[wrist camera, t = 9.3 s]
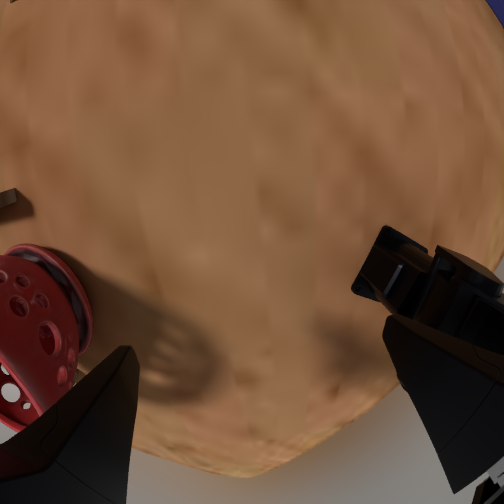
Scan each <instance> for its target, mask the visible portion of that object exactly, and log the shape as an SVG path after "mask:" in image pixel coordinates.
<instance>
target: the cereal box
mask: <svg viewBox="0 0 504 504" xmlns="http://www.w3.org/2000/svg"><path fill="white" fill-rule="evenodd" d="M485 1H486V2H487V3H488V5H489V6H490V8H491V9H492V11H493V12H494V14H495V15H496V17H497V18H498V20H499V21H500V23H501V24H502V26H503V28H504V0H485Z"/></svg>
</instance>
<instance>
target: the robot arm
mask: <svg viewBox="0 0 504 504" xmlns="http://www.w3.org/2000/svg"><path fill="white" fill-rule="evenodd" d="M386 230H388V232H387V233H386ZM435 252H436V253H435V256H434V258H433V257H431V256H429V255H428V250H427V249H426V248H425V247H423V246H421V245H420V244H418V243H417V242H415V241H413V240H412V239H410V238H408V237H407V236H405V235H403V234H402V233H400V232H398V231H396V230H395V229H393V228H391V227H389V226H387V225H385V226H383V227H382V229H381V231H380V233H379V235H378V237H377V239H376V241H375V243H374V245H373V247H372V249H371V251H370V253H369V255H368V257H367V258H366V260H365V262H364V264H363V266H362V268H361V270H360V272H359V274H358V275H357V277H356V279H355V281H354V283H353V284H352V287H351V290H352V292H353V293H354V294H356V295H359V296H362V297H365V298H369V299H372V300H375V301H378V302H381V303H382V304H383V305H384V306H385V307H386V308H387V309H388V310H389V311H390V312H391V313H392V315H390V316H388V317H387V319H386V322H385V326H384V330H383V334H382V337H383V340H384V343H385V345H386V347H387V350H388V352H389V355H390V357H391V359H392V362H393V364H394V367H395V369H396V372H397V378H398V380H399V381H400V384H401V385H402V387H403V389H404V390H405V391H407V392H408V394H409V396H410V398H411V400H412V402H413V404H414V405H415V408H416V410H417V412H418V414H419V416H420V418H421V420H422V422H423V424H424V426H425V428H426V430H427V433H428V435H429V437H430V439H431V441H432V444H433V446H434V448H435V450H436V453H437V454H438V457H439V460H440V462H441V464H442V467H443V469H444V472H445V474H446V477H447V479H448V482H449V484H450V487H451V489H452V492H453V493H454V494H455V493H457V492H459V491H460V490H462V489H463V488H464V487H466V486H467V485H469V484H470V483H472V482H473V481H474V480H476V479H477V478H478V477H479V476H481V475H482V474H483V473H485V472H486V471H487V472H488V474H489V477H488V478H487V479H485V480H484V481H483V482H482V483H481V484H479V485H478V486H477V487H476V491H475V494H474V498H473V502H472V504H504V294H503V293H502V290H503V288H504V283H503V282H502V281H500V280H499V278H497V277H496V276H495V275H494V274H493V273H492V272H491V271H490V270H489V269H488V268H486V267H484V266H483V265H481V264H479V263H478V262H476V261H474V260H472V259H470V258H469V257H467V256H464V255H462V254H459V253H457V252H455V251H452V250H450V249H447V248H445V247H442V246H439V245H437V247H436V250H435ZM357 287H358V289H356V288H357ZM139 372H140V366H139V362H138V360H137V357H136V354H135V352H134V349H133V347H132V346H130V345H122V346H119V347H118V348H117V349H116V350H114V351H113V352H112V353H111V354H110V355H109V356H108V357H106V358H105V359H104V360H103V361H102V362H101V363H100V364H98V365H97V366H96V367H95V368H94V369H93V370H92V371H90V372H89V373H88V374H87V375H86V376H85V377H84V378H83V379H81V380H80V381H79V382H78V383H77V384H76V385H75V386H74V387H72V388H71V389H70V390H69V391H68V392H67V393H66V394H65V395H63V396H62V397H61V398H60V399H59V400H58V401H57V402H56V403H54V404H53V405H52V406H51V407H50V408H49V409H48V410H47V411H45V412H44V413H43V414H42V415H41V416H40V417H38V418H37V419H36V420H35V421H33V422H32V423H31V424H29V425H28V426H27V427H25V428H24V429H23V430H21V431H20V432H19V433H17V434H16V435H14V436H13V437H12V438H11V439H9V440H8V441H6V442H4V443H2V444H0V504H126V496H127V484H128V483H127V482H128V472H129V462H130V453H131V446H132V438H133V431H134V425H135V418H136V412H137V403H138V386H139Z"/></svg>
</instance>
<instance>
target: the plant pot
mask: <svg viewBox="0 0 504 504" xmlns="http://www.w3.org/2000/svg"><path fill="white" fill-rule="evenodd" d="M92 335H93V317H92V311H91V307H90V304H89V301H88V298H87V296H86V293H85V291H84V289H83V287H82V285H81V284H80V282H79V280H78V279H77V277H76V276H75V275H74V273H73V272H72V270H71V269H70V268H69V267H68V266H67V265H66V264H65V263H64V262H63V261H62V260H61V259H60V258H59V257H58V256H56V255H55V254H53V253H52V252H50V251H49V250H47V249H45V248H43V247H40V246H37V245H34V244H19V245H16V246H14V247H12V248H10V249H9V250H8V251H7V252H6V253H5V254H4V255H0V421H1V422H2V423H3V424H5V425H6V426H7V427H9V428H11V429H12V430H14V431H17V432H18V433H19V432H20V431H21V430H23V429H24V428H25V427H27V426H28V425H29V424H31V423H32V422H33V421H35V420H36V419H37V418H38V417H40V416H41V415H42V414H43V413H44V412H45V411H47V410H48V409H49V408H50V407H51V406H52V405H53V404H54V403H56V402H57V401H58V400H59V399H60V398H61V397H62V396H63V395H65V394H66V393H67V392H68V391H69V390H70V389H71V388H72V385H73V380H74V376H75V373H76V369H77V363H78V356H79V355H81V354H82V353H84V352H85V351H86V350H87V348H88V347H89V345H90V342H91V339H92ZM1 364H3V366H4V367H5V368H6V369H7V370H8V372H9V373H10V375H6V374H4V373H3V371H2V370H1ZM6 383H11V384H14V385H16V386H17V387H18V388H19V390H20V398H19V399H18V400H17V401H16V402H8V401H7V400H5V399H4V398H3V396H2V394H1V388H2V386H3V385H4V384H6ZM25 403H31V405H30V408H29V409H23V405H24V404H25Z"/></svg>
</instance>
